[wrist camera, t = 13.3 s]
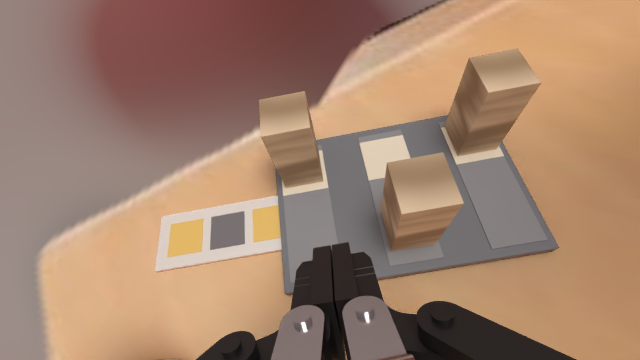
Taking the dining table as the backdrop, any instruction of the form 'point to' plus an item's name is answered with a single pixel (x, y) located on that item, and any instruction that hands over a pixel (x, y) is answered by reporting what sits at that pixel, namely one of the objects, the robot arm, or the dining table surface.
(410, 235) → the block
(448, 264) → the toggle board
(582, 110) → the dining table surface
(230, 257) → the card
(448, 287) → the dining table surface
